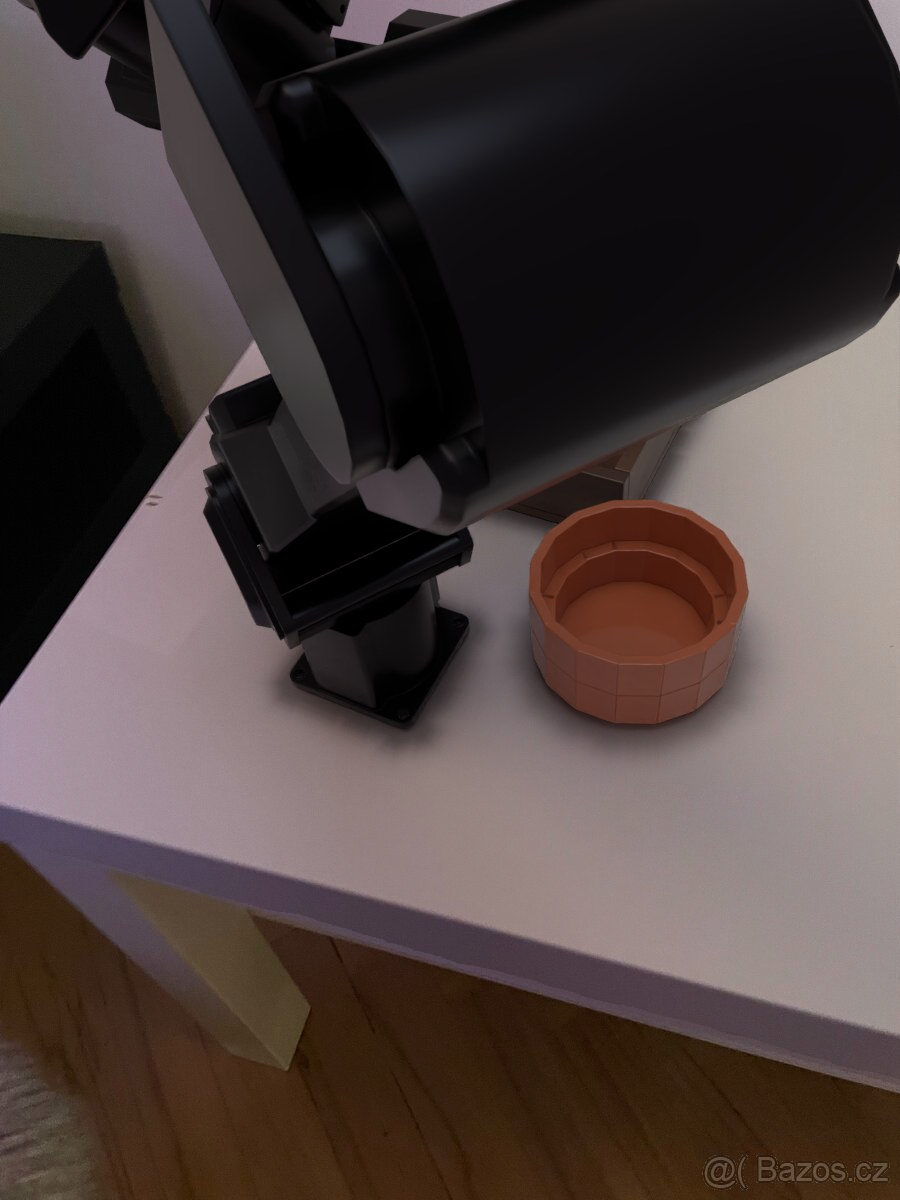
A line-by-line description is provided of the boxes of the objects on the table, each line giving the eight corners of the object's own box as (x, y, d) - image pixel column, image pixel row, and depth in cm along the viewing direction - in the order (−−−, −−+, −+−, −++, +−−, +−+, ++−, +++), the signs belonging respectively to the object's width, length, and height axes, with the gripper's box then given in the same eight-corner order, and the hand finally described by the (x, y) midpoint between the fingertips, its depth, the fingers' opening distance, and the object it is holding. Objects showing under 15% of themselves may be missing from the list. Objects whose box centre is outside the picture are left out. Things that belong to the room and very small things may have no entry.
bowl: (695, 759, 40) (707, 695, 36) (501, 688, 43) (494, 622, 40) (756, 603, 45) (773, 531, 41) (577, 549, 48) (577, 478, 44)
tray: (620, 541, 48) (623, 483, 45) (451, 492, 52) (443, 435, 48) (730, 329, 58) (739, 268, 54) (581, 299, 61) (581, 240, 58)
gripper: (458, -263, 28) (621, 4, 42) (44, -269, 36) (297, -41, 50) (345, 127, 30) (535, 259, 44) (-19, 43, 38) (239, 177, 52)
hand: (394, 152), depth 47 cm, fingers open, 9 cm apart
